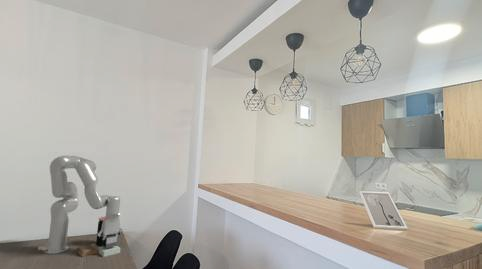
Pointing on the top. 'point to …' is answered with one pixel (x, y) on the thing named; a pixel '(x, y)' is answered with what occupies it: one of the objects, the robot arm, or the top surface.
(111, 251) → the stand
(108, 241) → the housing
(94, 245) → the stand
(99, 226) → the coffee jar
